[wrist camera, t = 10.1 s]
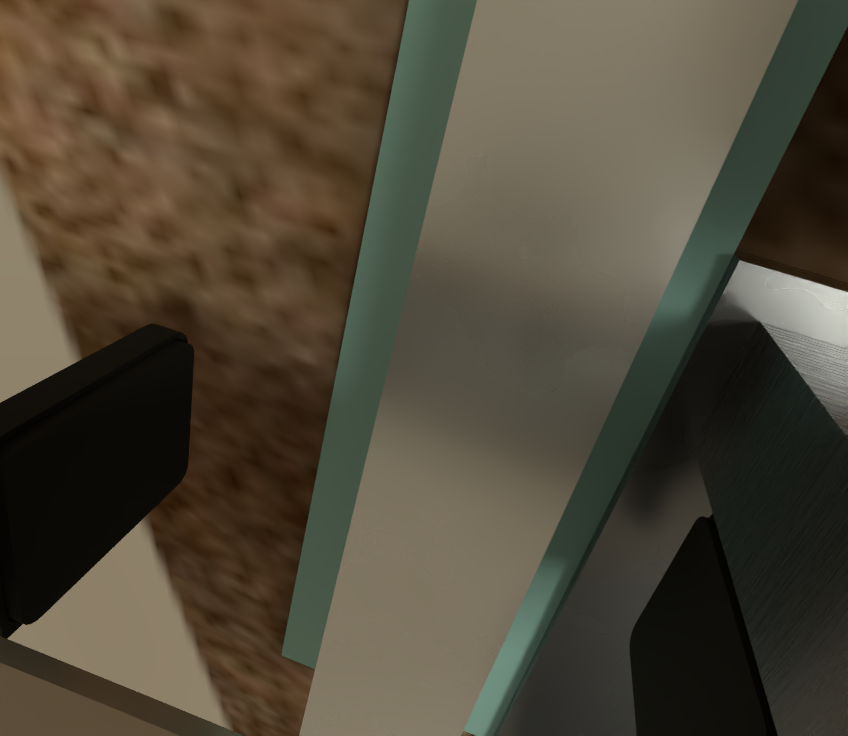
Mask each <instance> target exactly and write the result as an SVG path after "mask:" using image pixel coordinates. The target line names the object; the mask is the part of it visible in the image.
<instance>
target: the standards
mask: <svg viewBox="0 0 848 736" xmlns="http://www.w3.org/2000/svg"><path fill="white" fill-rule="evenodd" d="M712 514H713V516H714V519H715V522H716V526H717V529H718V533H719V536H720V540H721V543H722V546H723V550H724V553H725V557H726V560H727V563H728V567H729V570H730V574H731V577H732V581H733V584H734V587H735V591H736V594H737V598H738V601H739V604H740V608H741V611H742V615H743V618H744V621H745V625H746V628H747V632H748V635H749V639H750V642H751V645H752V649H753V652H754V656H755V659H756V662H757V666H758V669H759V673H760V676H761V680H762V683H763V686H764V690H765V693H766V697H767V700H768V703H769V707H770V710H771V714H772V717H773V721H774V724H775V727H776V731H777V734H778V736H848V283H845V282H841V281H838V280H834V279H831V278H828V277H824V276H821V275H817V274H814V273H811V272H807V271H804V270H801V269H797V268H794V267H790V266H787V265H784V264H780V263H777V262H773V261H770V260H767V259H763V258H760V257H757V256H753V255H750V254H746V253H743V252H740V251H735V253H734V255H733V257H732V259H731V261H730V263H729V265H728V267H727V269H726V271H725V273H724V275H723V277H722V279H721V281H720V283H719V285H718V287H717V289H716V291H715V293H714V295H713V297H712V299H711V301H710V303H709V305H708V307H707V309H706V311H705V313H704V315H703V317H702V319H701V321H700V323H699V325H698V327H697V329H696V331H695V333H694V335H693V337H692V339H691V341H690V343H689V345H688V347H687V349H686V351H685V353H684V355H683V357H682V359H681V361H680V363H679V365H678V367H677V369H676V371H675V373H674V375H673V377H672V379H671V381H670V383H669V385H668V387H667V389H666V391H665V393H664V395H663V397H662V399H661V401H660V403H659V405H658V407H657V409H656V411H655V413H654V415H653V417H652V419H651V421H650V423H649V425H648V427H647V429H646V431H645V433H644V435H643V437H642V439H641V441H640V443H639V445H638V447H637V449H636V451H635V453H634V455H633V457H632V459H631V461H630V463H629V465H628V467H627V469H626V471H625V473H624V475H623V477H622V479H621V481H620V483H619V485H618V487H617V489H616V491H615V493H614V495H613V497H612V499H611V501H610V503H609V505H608V507H607V509H606V511H605V513H604V515H603V517H602V519H601V521H600V523H599V525H598V527H597V529H596V531H595V533H594V535H593V537H592V539H591V541H590V543H589V545H588V547H587V549H586V551H585V553H584V555H583V557H582V559H581V561H580V563H579V565H578V567H577V569H576V571H575V573H574V575H573V577H572V579H571V581H570V583H569V585H568V587H567V589H566V591H565V593H564V595H563V597H562V599H561V601H560V603H559V605H558V607H557V609H556V611H555V613H554V615H553V617H552V619H551V621H550V623H549V625H548V627H547V629H546V631H545V633H544V635H543V637H542V639H541V641H540V643H539V645H538V647H537V649H536V651H535V653H534V655H533V657H532V659H531V661H530V663H529V665H528V667H527V669H526V671H525V673H524V675H523V677H522V679H521V681H520V683H519V685H518V687H517V689H516V691H515V693H514V695H513V697H512V699H511V701H510V703H509V705H508V707H507V709H506V711H505V713H504V715H503V717H502V719H501V721H500V723H499V725H498V727H497V729H496V731H495V733H494V735H493V736H637V734H636V722H635V710H634V698H633V686H632V674H631V662H630V648H629V645H630V638H631V633H632V630H633V628H634V625H635V624H636V622H637V620H638V618H639V617H640V615H641V613H642V612H643V610H644V608H645V606H646V605H647V603H648V601H649V600H650V598H651V596H652V594H653V593H654V591H655V589H656V588H657V586H658V584H659V582H660V581H661V579H662V577H663V576H664V574H665V572H666V570H667V569H668V567H669V565H670V564H671V562H672V560H673V558H674V557H675V555H676V553H677V552H678V550H679V548H680V546H681V545H682V543H683V541H684V540H685V538H686V536H687V534H688V533H689V531H690V529H691V528H692V526H693V524H694V522H695V521H696V520H697V519H698V518H699V517H700V516H704V517H707V518H709V517H710V515H712Z"/></svg>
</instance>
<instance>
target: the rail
mask: <svg viewBox="0 0 848 736" xmlns="http://www.w3.org/2000/svg"><path fill="white" fill-rule="evenodd" d="M797 2H798V0H477V3H476V7H475V11H474V15H473V19H472V23H471V27H470V32H469V36H468V40H467V44H466V48H465V52H464V56H463V60H462V65H461V69H460V73H459V77H458V81H457V85H456V89H455V94H454V98H453V102H452V106H451V110H450V114H449V118H448V122H447V127H446V131H445V135H444V139H443V143H442V147H441V151H440V156H439V160H438V164H437V168H436V172H435V176H434V180H433V184H432V189H431V193H430V197H429V201H428V205H427V209H426V213H425V218H424V222H423V226H422V230H421V234H420V238H419V242H418V246H417V251H416V255H415V259H414V263H413V267H412V271H411V275H410V280H409V284H408V288H407V292H406V296H405V300H404V304H403V308H402V313H401V317H400V321H399V325H398V329H397V333H396V337H395V342H394V346H393V350H392V354H391V358H390V362H389V366H388V370H387V375H386V379H385V383H384V387H383V391H382V395H381V399H380V404H379V408H378V412H377V416H376V420H375V424H374V428H373V432H372V437H371V441H370V445H369V449H368V453H367V457H366V461H365V466H364V470H363V474H362V478H361V482H360V486H359V490H358V494H357V499H356V503H355V507H354V511H353V515H352V519H351V523H350V528H349V532H348V536H347V540H346V544H345V548H344V552H343V556H342V561H341V565H340V569H339V573H338V577H337V581H336V585H335V590H334V594H333V598H332V602H331V606H330V610H329V614H328V618H327V623H326V627H325V631H324V635H323V639H322V643H321V647H320V652H319V656H318V660H317V664H316V668H315V672H314V676H313V680H312V685H311V689H310V693H309V697H308V701H307V705H306V709H305V714H304V718H303V722H302V726H301V730H300V734H299V736H461V735H462V733H463V730H464V728H465V726H466V724H467V722H468V719H469V717H470V715H471V713H472V711H473V709H474V706H475V704H476V702H477V700H478V698H479V695H480V693H481V691H482V689H483V687H484V685H485V682H486V680H487V678H488V676H489V674H490V671H491V669H492V667H493V665H494V663H495V661H496V658H497V656H498V654H499V652H500V650H501V647H502V645H503V643H504V641H505V639H506V637H507V634H508V632H509V630H510V628H511V626H512V623H513V621H514V619H515V617H516V615H517V613H518V610H519V608H520V606H521V604H522V602H523V599H524V597H525V595H526V593H527V591H528V589H529V586H530V584H531V582H532V580H533V578H534V575H535V573H536V571H537V569H538V567H539V565H540V562H541V560H542V558H543V556H544V554H545V551H546V549H547V547H548V545H549V543H550V541H551V538H552V536H553V534H554V532H555V530H556V527H557V525H558V523H559V521H560V519H561V517H562V514H563V512H564V510H565V508H566V506H567V503H568V501H569V499H570V497H571V495H572V493H573V490H574V488H575V486H576V484H577V482H578V479H579V477H580V475H581V473H582V471H583V469H584V466H585V464H586V462H587V460H588V458H589V455H590V453H591V451H592V449H593V447H594V445H595V442H596V440H597V438H598V436H599V434H600V431H601V429H602V427H603V425H604V423H605V421H606V418H607V416H608V414H609V412H610V410H611V407H612V405H613V403H614V401H615V399H616V397H617V394H618V392H619V390H620V388H621V386H622V383H623V381H624V379H625V377H626V375H627V373H628V370H629V368H630V366H631V364H632V362H633V359H634V357H635V355H636V353H637V351H638V349H639V346H640V344H641V342H642V340H643V338H644V335H645V333H646V331H647V329H648V327H649V325H650V322H651V320H652V318H653V316H654V314H655V311H656V309H657V307H658V305H659V303H660V301H661V298H662V296H663V294H664V292H665V290H666V287H667V285H668V283H669V281H670V279H671V277H672V274H673V272H674V270H675V268H676V266H677V263H678V261H679V259H680V257H681V255H682V253H683V250H684V248H685V246H686V244H687V242H688V239H689V237H690V235H691V233H692V231H693V229H694V226H695V224H696V222H697V220H698V218H699V215H700V213H701V211H702V209H703V207H704V205H705V202H706V200H707V198H708V196H709V194H710V191H711V189H712V187H713V185H714V183H715V181H716V178H717V176H718V174H719V172H720V170H721V167H722V165H723V163H724V161H725V159H726V157H727V154H728V152H729V150H730V148H731V146H732V143H733V141H734V139H735V137H736V135H737V133H738V130H739V128H740V126H741V124H742V122H743V119H744V117H745V115H746V113H747V111H748V109H749V106H750V104H751V102H752V100H753V98H754V95H755V93H756V91H757V89H758V87H759V85H760V82H761V80H762V78H763V76H764V74H765V71H766V69H767V67H768V65H769V63H770V61H771V58H772V56H773V54H774V52H775V50H776V47H777V45H778V43H779V41H780V39H781V37H782V34H783V32H784V30H785V28H786V26H787V23H788V21H789V19H790V17H791V15H792V13H793V10H794V8H795V6H796V4H797Z"/></svg>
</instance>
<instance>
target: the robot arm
mask: <svg viewBox="0 0 848 736" xmlns="http://www.w3.org/2000/svg"><path fill="white" fill-rule="evenodd" d="M193 364H194V349H193V346H192V345H191V344H188V341H187V338H186V336H185V335H184V334H183V333H181V332H178V331H175V330H172V329H169V328H166V327H163V326H160V325H157V324H149V325H146V326H144V327H142V328H140V329H139V330H137V331H135V332H133V333H131V334H129V335H127V336H125V337H123V338H122V339H120V340H118V341H116V342H114V343H112V344H110V345H108V346H106V347H105V348H103V349H101V350H99V351H97V352H95V353H93V354H91V355H89V356H88V357H86V358H84V359H82V360H80V361H78V362H76V363H74V364H72V365H71V366H69V367H67V368H65V369H63V370H61V371H59V372H58V373H56V374H54V375H52V376H50V377H48V378H46V379H44V380H42V381H40V382H39V383H37V384H35V385H33V386H31V387H29V388H27V389H25V390H24V391H22V392H20V393H18V394H16V395H14V396H12V397H10V398H8V399H7V400H5V401H3V402H1V403H0V736H243V735H241V734H238V733H236V732H234V731H231V730H229V729H226V728H224V727H221V726H219V725H217V724H214V723H212V722H209V721H207V720H204V719H202V718H199V717H197V716H194V715H192V714H190V713H187V712H185V711H182V710H180V709H178V708H175V707H173V706H170V705H168V704H166V703H163V702H161V701H158V700H156V699H153V698H151V697H148V696H145V695H143V694H141V693H139V692H136V691H134V690H131V689H129V688H126V687H124V686H121V685H119V684H116V683H114V682H112V681H109V680H107V679H104V678H102V677H99V676H97V675H94V674H92V673H89V672H87V671H84V670H82V669H80V668H77V667H75V666H72V665H70V664H67V663H65V662H62V661H60V660H57V659H55V658H52V657H50V656H47V655H45V654H43V653H40V652H38V651H35V650H33V649H30V648H28V647H25V646H23V645H20V644H18V643H15V642H13V641H10V640H8V639H7V638H8V637H9V636H11V635H12V634H13V633H14V632H15V631H16V630H17V629H18V628H19V627H20V626H21V625H22V624H25V625H27V624H32V623H33V622H35V621H37V620H38V619H39V618H40V617H41V616H42V615H44V614H45V612H47V611H48V610H49V609H50V608H51V607H52V606H53V605H54V604H55V603H56V602H57V601H58V600H59V599H60V598H61V597H62V596H63V595H64V594H65V593H66V592H67V591H68V590H69V589H71V588H72V587H73V585H75V584H76V583H77V582H78V581H79V580H80V579H81V578H82V577H83V576H84V575H85V574H86V573H87V572H88V571H89V570H90V569H91V568H92V567H93V566H94V565H95V564H96V563H97V562H98V561H100V560H101V559H102V558H103V557H104V556H105V555H106V554H107V553H108V552H109V551H110V550H111V549H112V548H113V547H114V546H115V545H116V544H117V543H118V542H119V541H120V540H121V539H122V538H123V537H124V536H125V535H126V534H128V533H129V532H130V531H131V530H132V529H133V528H134V527H135V526H136V525H137V524H138V523H139V522H140V521H141V520H142V519H143V518H144V517H145V516H146V515H147V514H148V513H149V512H150V511H151V510H152V509H153V508H155V507H156V506H157V505H158V504H159V503H160V502H161V501H162V500H163V499H164V498H165V497H166V496H167V495H168V494H169V493H170V492H171V491H172V490H173V489H174V488H175V487H176V486H177V485H178V484H179V483H180V482H181V481H182V479H183V477H184V475H185V473H186V471H187V467H188V456H189V438H190V419H191V401H192V383H193ZM629 648H630V662H631V674H632V686H633V698H634V710H635V722H636V734H637V736H778V734H777V731H776V727H775V724H774V721H773V717H772V714H771V710H770V707H769V703H768V700H767V697H766V693H765V690H764V686H763V683H762V680H761V676H760V673H759V669H758V666H757V662H756V659H755V656H754V652H753V649H752V645H751V642H750V639H749V635H748V632H747V628H746V625H745V621H744V618H743V615H742V611H741V608H740V604H739V601H738V598H737V594H736V591H735V587H734V584H733V581H732V577H731V574H730V570H729V567H728V563H727V560H726V557H725V553H724V550H723V546H722V543H721V540H720V536H719V533H718V529H717V526H716V522H715V519H714V516H713V514H712V515H710V517H709V518H707V517H704V516H700V517H699V518H698V519H697V520H696V521H695V522H694V524H693V526H692V528H691V529H690V531H689V533H688V534H687V536H686V538H685V540H684V541H683V543H682V545H681V546H680V548H679V550H678V552H677V553H676V555H675V557H674V558H673V560H672V562H671V564H670V565H669V567H668V569H667V570H666V572H665V574H664V576H663V577H662V579H661V581H660V582H659V584H658V586H657V588H656V589H655V591H654V593H653V594H652V596H651V598H650V600H649V601H648V603H647V605H646V606H645V608H644V610H643V612H642V613H641V615H640V617H639V618H638V620H637V622H636V624H635V625H634V628H633V630H632V633H631V638H630V645H629Z"/></svg>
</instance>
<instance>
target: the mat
mask: <svg viewBox="0 0 848 736" xmlns="http://www.w3.org/2000/svg"><path fill="white" fill-rule="evenodd" d="M476 3H477V0H409V4H408V9H407V14H406V19H405V25H404V30H403V35H402V40H401V45H400V50H399V55H398V60H397V66H396V71H395V76H394V81H393V86H392V91H391V96H390V101H389V106H388V112H387V117H386V122H385V127H384V132H383V137H382V142H381V147H380V152H379V158H378V163H377V168H376V173H375V178H374V183H373V188H372V193H371V199H370V204H369V209H368V214H367V219H366V224H365V229H364V234H363V239H362V245H361V250H360V255H359V260H358V265H357V270H356V275H355V280H354V285H353V291H352V296H351V301H350V306H349V311H348V316H347V321H346V326H345V331H344V337H343V342H342V347H341V352H340V357H339V362H338V367H337V372H336V378H335V383H334V388H333V393H332V398H331V403H330V408H329V413H328V418H327V424H326V429H325V434H324V439H323V444H322V449H321V454H320V459H319V464H318V470H317V475H316V480H315V485H314V490H313V495H312V500H311V505H310V511H309V516H308V521H307V526H306V531H305V536H304V541H303V546H302V551H301V557H300V562H299V567H298V572H297V577H296V582H295V587H294V592H293V597H292V603H291V608H290V613H289V618H288V623H287V628H286V633H285V638H284V644H283V649H282V654H281V656H284V657H286V658H289V659H291V660H294V661H296V662H298V663H301V664H303V665H306V666H308V667H310V668H313V669H315V668H316V664H317V660H318V656H319V652H320V647H321V643H322V639H323V635H324V631H325V627H326V623H327V618H328V614H329V610H330V606H331V602H332V598H333V594H334V590H335V585H336V581H337V577H338V573H339V569H340V565H341V561H342V556H343V552H344V548H345V544H346V540H347V536H348V532H349V528H350V523H351V519H352V515H353V511H354V507H355V503H356V499H357V494H358V490H359V486H360V482H361V478H362V474H363V470H364V466H365V461H366V457H367V453H368V449H369V445H370V441H371V437H372V432H373V428H374V424H375V420H376V416H377V412H378V408H379V404H380V399H381V395H382V391H383V387H384V383H385V379H386V375H387V370H388V366H389V362H390V358H391V354H392V350H393V346H394V342H395V337H396V333H397V329H398V325H399V321H400V317H401V313H402V308H403V304H404V300H405V296H406V292H407V288H408V284H409V280H410V275H411V271H412V267H413V263H414V259H415V255H416V251H417V246H418V242H419V238H420V234H421V230H422V226H423V222H424V218H425V213H426V209H427V205H428V201H429V197H430V193H431V189H432V184H433V180H434V176H435V172H436V168H437V164H438V160H439V156H440V151H441V147H442V143H443V139H444V135H445V131H446V127H447V122H448V118H449V114H450V110H451V106H452V102H453V98H454V94H455V89H456V85H457V81H458V77H459V73H460V69H461V65H462V60H463V56H464V52H465V48H466V44H467V40H468V36H469V32H470V27H471V23H472V19H473V15H474V11H475V7H476ZM847 27H848V0H798V2H797V4H796V6H795V8H794V10H793V13H792V15H791V17H790V19H789V21H788V23H787V26H786V28H785V30H784V32H783V34H782V37H781V39H780V41H779V43H778V45H777V47H776V50H775V52H774V54H773V56H772V58H771V61H770V63H769V65H768V67H767V69H766V71H765V74H764V76H763V78H762V80H761V82H760V85H759V87H758V89H757V91H756V93H755V95H754V98H753V100H752V102H751V104H750V106H749V109H748V111H747V113H746V115H745V117H744V119H743V122H742V124H741V126H740V128H739V130H738V133H737V135H736V137H735V139H734V141H733V143H732V146H731V148H730V150H729V152H728V154H727V157H726V159H725V161H724V163H723V165H722V167H721V170H720V172H719V174H718V176H717V178H716V181H715V183H714V185H713V187H712V189H711V191H710V194H709V196H708V198H707V200H706V202H705V205H704V207H703V209H702V211H701V213H700V215H699V218H698V220H697V222H696V224H695V226H694V229H693V231H692V233H691V235H690V237H689V239H688V242H687V244H686V246H685V248H684V250H683V253H682V255H681V257H680V259H679V261H678V263H677V266H676V268H675V270H674V272H673V274H672V277H671V279H670V281H669V283H668V285H667V287H666V290H665V292H664V294H663V296H662V298H661V301H660V303H659V305H658V307H657V309H656V311H655V314H654V316H653V318H652V320H651V322H650V325H649V327H648V329H647V331H646V333H645V335H644V338H643V340H642V342H641V344H640V346H639V349H638V351H637V353H636V355H635V357H634V359H633V362H632V364H631V366H630V368H629V370H628V373H627V375H626V377H625V379H624V381H623V383H622V386H621V388H620V390H619V392H618V394H617V397H616V399H615V401H614V403H613V405H612V407H611V410H610V412H609V414H608V416H607V418H606V421H605V423H604V425H603V427H602V429H601V431H600V434H599V436H598V438H597V440H596V442H595V445H594V447H593V449H592V451H591V453H590V455H589V458H588V460H587V462H586V464H585V466H584V469H583V471H582V473H581V475H580V477H579V479H578V482H577V484H576V486H575V488H574V490H573V493H572V495H571V497H570V499H569V501H568V503H567V506H566V508H565V510H564V512H563V514H562V517H561V519H560V521H559V523H558V525H557V527H556V530H555V532H554V534H553V536H552V538H551V541H550V543H549V545H548V547H547V549H546V551H545V554H544V556H543V558H542V560H541V562H540V565H539V567H538V569H537V571H536V573H535V575H534V578H533V580H532V582H531V584H530V586H529V589H528V591H527V593H526V595H525V597H524V599H523V602H522V604H521V606H520V608H519V610H518V613H517V615H516V617H515V619H514V621H513V623H512V626H511V628H510V630H509V632H508V634H507V637H506V639H505V641H504V643H503V645H502V647H501V650H500V652H499V654H498V656H497V658H496V661H495V663H494V665H493V667H492V669H491V671H490V674H489V676H488V678H487V680H486V682H485V685H484V687H483V689H482V691H481V693H480V695H479V698H478V700H477V702H476V704H475V706H474V709H473V711H472V713H471V715H470V717H469V719H468V722H467V724H466V726H465V728H464V730H463V731H465V732H468V733H470V734H473V735H475V736H493V735H494V733H495V731H496V729H497V727H498V725H499V723H500V721H501V719H502V717H503V715H504V713H505V711H506V709H507V707H508V705H509V703H510V701H511V699H512V697H513V695H514V693H515V691H516V689H517V687H518V685H519V683H520V681H521V679H522V677H523V675H524V673H525V671H526V669H527V667H528V665H529V663H530V661H531V659H532V657H533V655H534V653H535V651H536V649H537V647H538V645H539V643H540V641H541V639H542V637H543V635H544V633H545V631H546V629H547V627H548V625H549V623H550V621H551V619H552V617H553V615H554V613H555V611H556V609H557V607H558V605H559V603H560V601H561V599H562V597H563V595H564V593H565V591H566V589H567V587H568V585H569V583H570V581H571V579H572V577H573V575H574V573H575V571H576V569H577V567H578V565H579V563H580V561H581V559H582V557H583V555H584V553H585V551H586V549H587V547H588V545H589V543H590V541H591V539H592V537H593V535H594V533H595V531H596V529H597V527H598V525H599V523H600V521H601V519H602V517H603V515H604V513H605V511H606V509H607V507H608V505H609V503H610V501H611V499H612V497H613V495H614V493H615V491H616V489H617V487H618V485H619V483H620V481H621V479H622V477H623V475H624V473H625V471H626V469H627V467H628V465H629V463H630V461H631V459H632V457H633V455H634V453H635V451H636V449H637V447H638V445H639V443H640V441H641V439H642V437H643V435H644V433H645V431H646V429H647V427H648V425H649V423H650V421H651V419H652V417H653V415H654V413H655V411H656V409H657V407H658V405H659V403H660V401H661V399H662V397H663V395H664V393H665V391H666V389H667V387H668V385H669V383H670V381H671V379H672V377H673V375H674V373H675V371H676V369H677V367H678V365H679V363H680V361H681V359H682V357H683V355H684V353H685V351H686V349H687V347H688V345H689V343H690V341H691V339H692V337H693V335H694V333H695V331H696V329H697V327H698V325H699V323H700V321H701V319H702V317H703V315H704V313H705V311H706V309H707V307H708V305H709V303H710V301H711V299H712V297H713V295H714V293H715V291H716V289H717V287H718V285H719V283H720V281H721V279H722V277H723V275H724V273H725V271H726V269H727V267H728V265H729V263H730V261H731V259H732V257H733V255H734V253H735V251H736V249H737V247H738V245H739V243H740V241H741V239H742V237H743V235H744V233H745V231H746V229H747V227H748V225H749V223H750V221H751V219H752V217H753V215H754V213H755V211H756V209H757V207H758V205H759V203H760V201H761V199H762V197H763V195H764V193H765V191H766V189H767V187H768V185H769V183H770V181H771V179H772V177H773V175H774V173H775V171H776V169H777V167H778V165H779V163H780V161H781V159H782V157H783V155H784V153H785V151H786V149H787V147H788V145H789V143H790V141H791V139H792V137H793V135H794V133H795V131H796V129H797V127H798V125H799V123H800V121H801V119H802V117H803V115H804V113H805V111H806V109H807V107H808V105H809V103H810V101H811V99H812V97H813V95H814V93H815V91H816V89H817V87H818V85H819V83H820V81H821V79H822V77H823V75H824V73H825V71H826V69H827V67H828V65H829V63H830V61H831V59H832V57H833V55H834V53H835V51H836V49H837V47H838V45H839V43H840V41H841V39H842V37H843V35H844V33H845V31H846V29H847Z"/></svg>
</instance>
